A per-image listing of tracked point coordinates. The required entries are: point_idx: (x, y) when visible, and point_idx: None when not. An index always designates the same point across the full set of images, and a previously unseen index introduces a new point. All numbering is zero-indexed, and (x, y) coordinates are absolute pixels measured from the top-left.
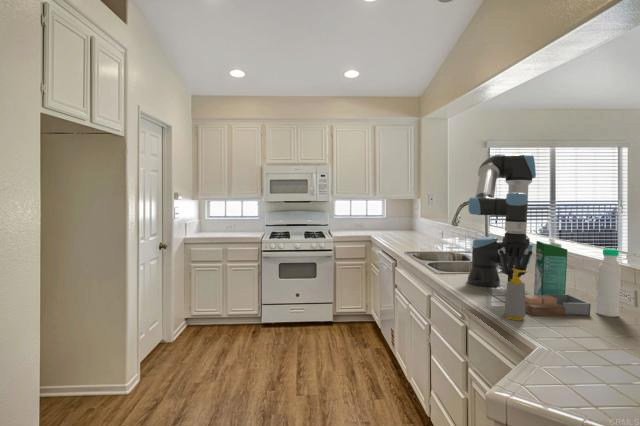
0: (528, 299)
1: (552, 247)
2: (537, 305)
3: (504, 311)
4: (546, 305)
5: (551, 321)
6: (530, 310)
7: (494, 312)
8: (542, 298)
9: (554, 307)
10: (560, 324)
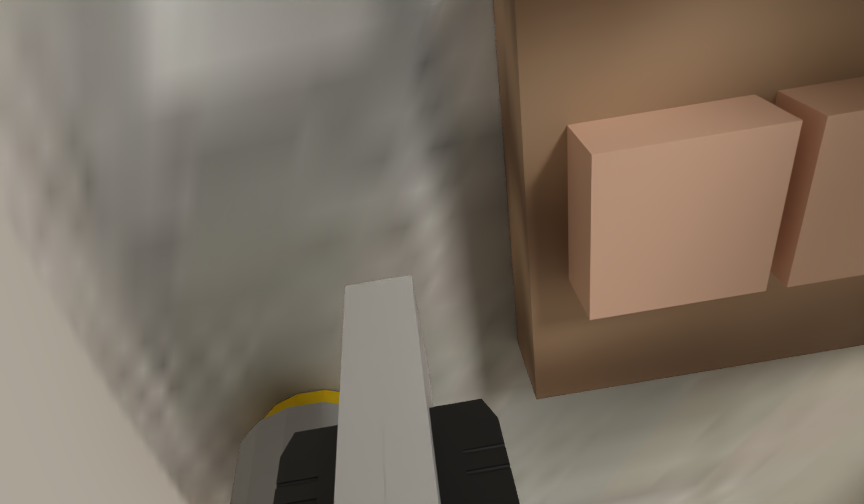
0: (583, 290)
1: None
2: (624, 330)
3: (235, 472)
4: (730, 307)
5: (592, 440)
6: (523, 333)
7: (167, 344)
8: (789, 254)
9: (764, 355)
10: (618, 477)
